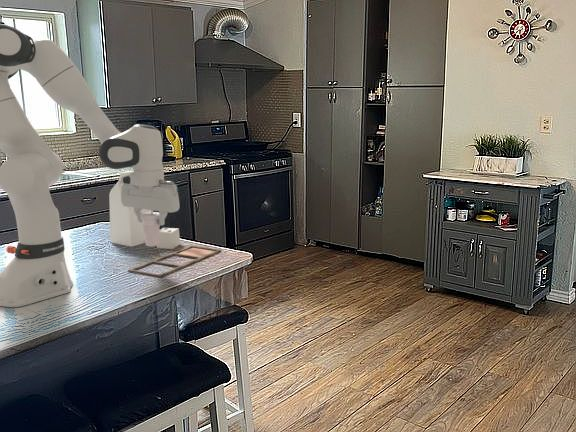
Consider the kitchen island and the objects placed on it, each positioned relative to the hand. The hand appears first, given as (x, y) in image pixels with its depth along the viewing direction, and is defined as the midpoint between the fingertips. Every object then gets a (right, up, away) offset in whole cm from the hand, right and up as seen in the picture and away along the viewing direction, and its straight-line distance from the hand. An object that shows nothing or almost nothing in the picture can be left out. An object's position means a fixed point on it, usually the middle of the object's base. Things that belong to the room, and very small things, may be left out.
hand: (151, 223), depth 176 cm
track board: (+6, -12, +12) cm, 18 cm away
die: (-1, -9, +30) cm, 31 cm away
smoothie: (0, -7, +2) cm, 7 cm away
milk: (-16, -7, +39) cm, 42 cm away
